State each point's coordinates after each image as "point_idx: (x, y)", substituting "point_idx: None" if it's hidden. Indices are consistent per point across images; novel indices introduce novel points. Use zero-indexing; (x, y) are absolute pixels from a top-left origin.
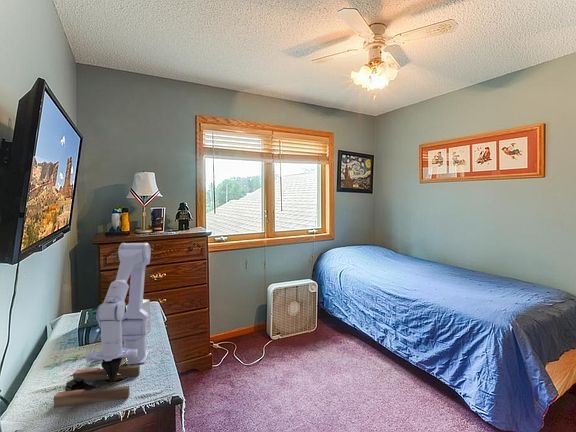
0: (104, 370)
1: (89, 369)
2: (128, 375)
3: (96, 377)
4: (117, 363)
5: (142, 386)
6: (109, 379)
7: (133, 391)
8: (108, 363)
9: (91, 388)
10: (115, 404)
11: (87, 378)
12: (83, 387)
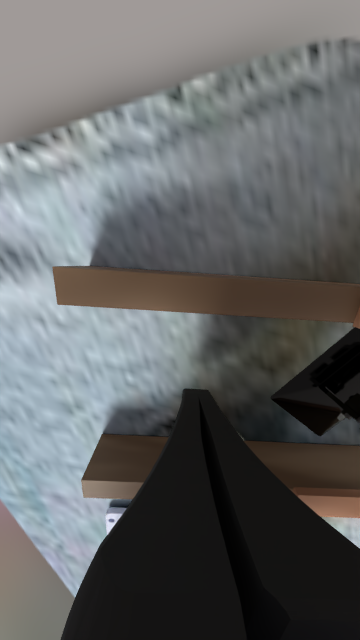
0: None
1: (342, 511)
2: (144, 441)
3: (283, 455)
4: (90, 603)
5: (50, 349)
6: (214, 400)
7: (82, 319)
8: (281, 634)
9: (289, 390)
10: (141, 222)
11: (321, 456)
12: (333, 395)
